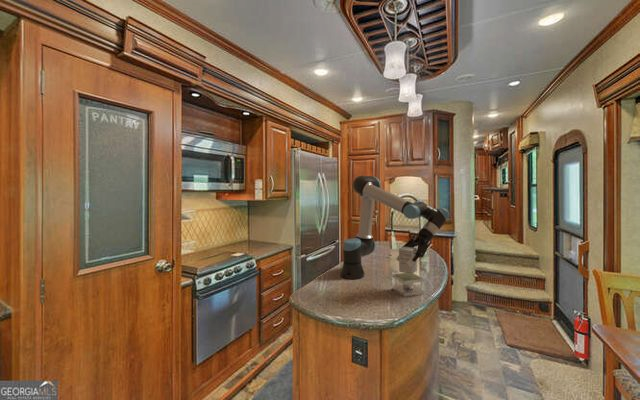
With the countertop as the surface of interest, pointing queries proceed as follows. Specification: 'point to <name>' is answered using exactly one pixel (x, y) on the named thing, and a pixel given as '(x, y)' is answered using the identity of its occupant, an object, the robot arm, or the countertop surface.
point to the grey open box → (408, 284)
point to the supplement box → (404, 257)
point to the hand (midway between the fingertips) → (402, 262)
